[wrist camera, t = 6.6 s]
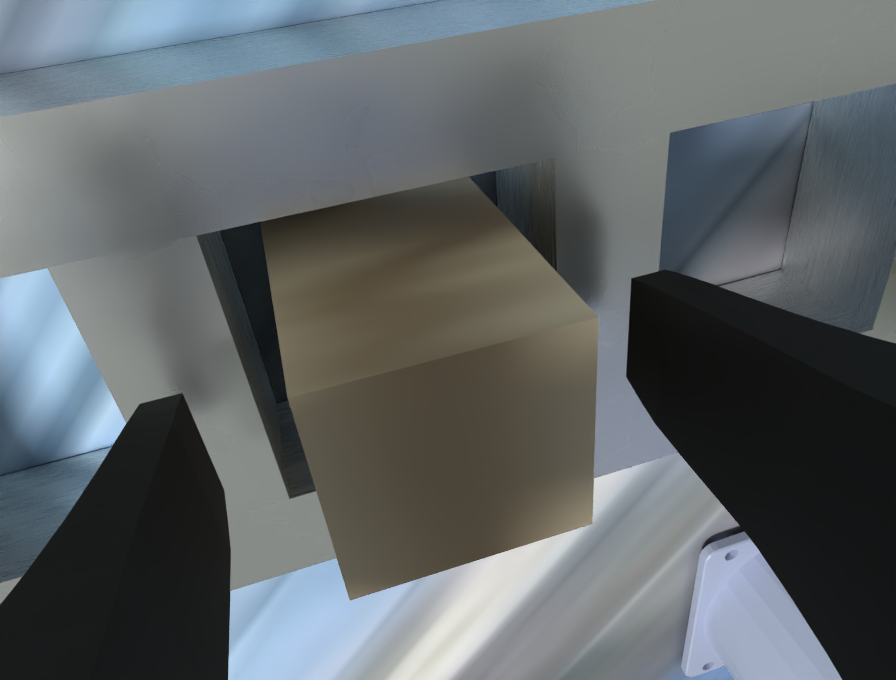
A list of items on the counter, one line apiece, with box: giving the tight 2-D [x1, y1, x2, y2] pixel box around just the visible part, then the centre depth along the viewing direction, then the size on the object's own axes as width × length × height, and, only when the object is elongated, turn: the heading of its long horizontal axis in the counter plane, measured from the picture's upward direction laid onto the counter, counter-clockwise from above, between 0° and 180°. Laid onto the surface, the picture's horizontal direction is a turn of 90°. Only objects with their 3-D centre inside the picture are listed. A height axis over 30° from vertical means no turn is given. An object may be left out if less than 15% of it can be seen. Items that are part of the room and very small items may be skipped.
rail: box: [0, 0, 896, 604], centre depth 13 cm, size 26×10×3 cm, turn 96°
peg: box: [260, 177, 599, 600], centre depth 12 cm, size 4×4×6 cm
